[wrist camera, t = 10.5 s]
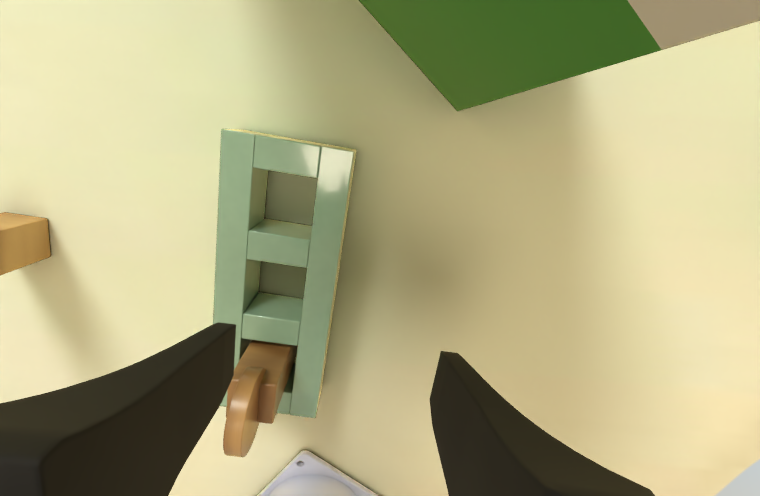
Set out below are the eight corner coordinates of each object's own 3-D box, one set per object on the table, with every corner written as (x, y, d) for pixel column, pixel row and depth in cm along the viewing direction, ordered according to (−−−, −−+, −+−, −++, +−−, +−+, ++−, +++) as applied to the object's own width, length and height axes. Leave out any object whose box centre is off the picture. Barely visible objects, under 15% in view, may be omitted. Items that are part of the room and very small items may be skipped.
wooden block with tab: (259, 362, 25) (203, 474, 17) (263, 309, 24) (205, 400, 15) (294, 367, 25) (256, 480, 17) (301, 314, 24) (263, 408, 16)
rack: (228, 374, 25) (209, 405, 22) (242, 129, 20) (220, 128, 17) (322, 386, 25) (315, 418, 22) (356, 149, 21) (354, 151, 18)
